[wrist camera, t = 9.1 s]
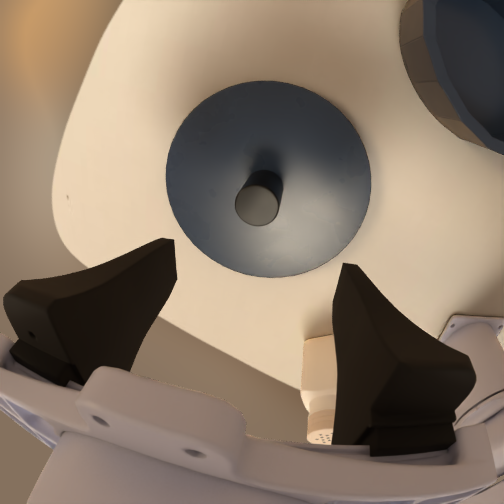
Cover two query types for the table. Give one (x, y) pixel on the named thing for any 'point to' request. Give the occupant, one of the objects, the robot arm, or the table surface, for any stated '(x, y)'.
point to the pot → (458, 64)
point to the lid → (268, 179)
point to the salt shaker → (319, 387)
